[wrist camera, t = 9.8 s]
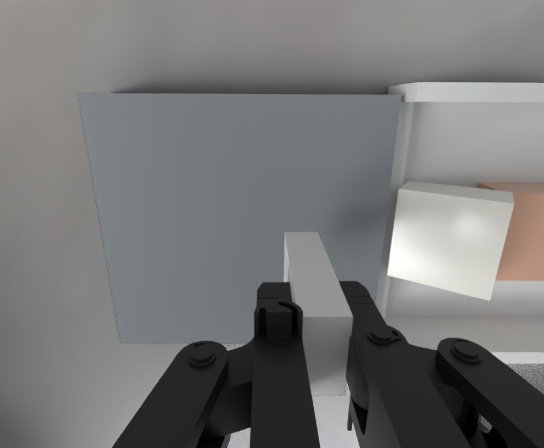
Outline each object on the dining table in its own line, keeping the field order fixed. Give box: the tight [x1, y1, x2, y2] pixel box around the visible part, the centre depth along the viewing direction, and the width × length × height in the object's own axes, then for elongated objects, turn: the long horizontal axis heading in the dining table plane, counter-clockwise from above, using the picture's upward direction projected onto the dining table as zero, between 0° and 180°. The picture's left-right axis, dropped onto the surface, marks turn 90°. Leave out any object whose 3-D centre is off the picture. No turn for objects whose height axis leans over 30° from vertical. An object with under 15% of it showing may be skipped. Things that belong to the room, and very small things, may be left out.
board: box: [77, 93, 401, 344], centre depth 20 cm, size 15×14×3 cm
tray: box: [376, 82, 544, 364], centre depth 19 cm, size 15×15×4 cm
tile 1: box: [477, 183, 544, 281], centre depth 19 cm, size 5×5×2 cm
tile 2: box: [387, 180, 514, 301], centre depth 18 cm, size 5×5×2 cm
